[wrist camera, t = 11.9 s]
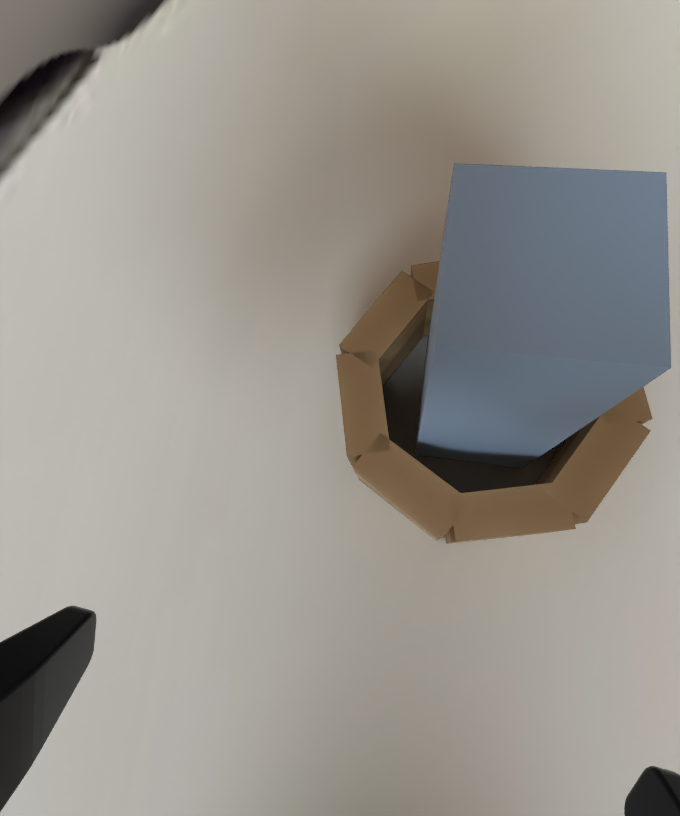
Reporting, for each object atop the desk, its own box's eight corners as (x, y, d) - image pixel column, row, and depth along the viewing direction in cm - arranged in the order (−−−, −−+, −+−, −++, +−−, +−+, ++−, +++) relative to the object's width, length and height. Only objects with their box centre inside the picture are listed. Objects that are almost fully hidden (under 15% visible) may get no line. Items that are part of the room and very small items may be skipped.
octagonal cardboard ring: (654, 387, 22) (701, 357, 18) (506, 596, 20) (529, 605, 17) (444, 258, 24) (451, 210, 21) (300, 432, 23) (283, 411, 19)
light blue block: (523, 467, 21) (670, 367, 10) (414, 454, 22) (434, 346, 10) (528, 367, 22) (666, 172, 11) (425, 357, 23) (454, 163, 12)
